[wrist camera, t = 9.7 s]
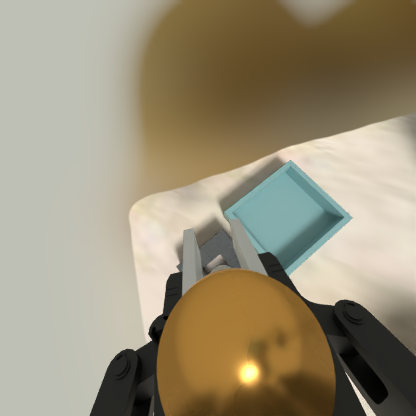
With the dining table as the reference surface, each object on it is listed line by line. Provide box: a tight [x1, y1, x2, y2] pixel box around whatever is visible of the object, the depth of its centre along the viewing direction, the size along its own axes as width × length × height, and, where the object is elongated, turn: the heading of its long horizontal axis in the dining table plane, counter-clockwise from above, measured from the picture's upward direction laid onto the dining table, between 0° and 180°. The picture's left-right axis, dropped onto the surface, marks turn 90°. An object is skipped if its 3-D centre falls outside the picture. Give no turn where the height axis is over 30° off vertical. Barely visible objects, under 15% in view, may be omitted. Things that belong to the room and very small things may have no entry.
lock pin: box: [157, 265, 336, 416], centre depth 11 cm, size 4×4×15 cm
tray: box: [224, 160, 352, 276], centre depth 35 cm, size 18×16×4 cm
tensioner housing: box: [176, 230, 241, 277], centre depth 33 cm, size 11×11×4 cm
